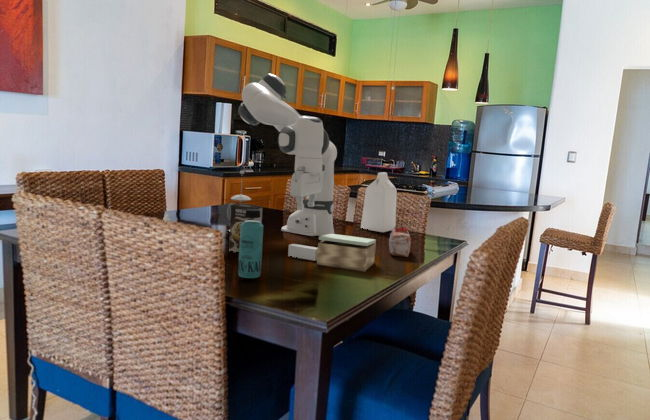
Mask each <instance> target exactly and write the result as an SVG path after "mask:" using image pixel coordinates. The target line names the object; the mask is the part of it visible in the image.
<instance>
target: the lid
mask: <svg viewBox="0 0 650 420" xmlns="http://www.w3.org/2000/svg"><path fill="white" fill-rule="evenodd" d="M318 240H320V241H323V240H326V241H333V242H341V243H348V244H355V245H363V246H368V245H371V244H373V243H376V242H377V241H376V239H375V238H368V237H367V238H366V237H361V236H353V235H345V234H338V233H337V234H336V233H334V234H327V235H318ZM376 244H377V243H376Z"/></svg>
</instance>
